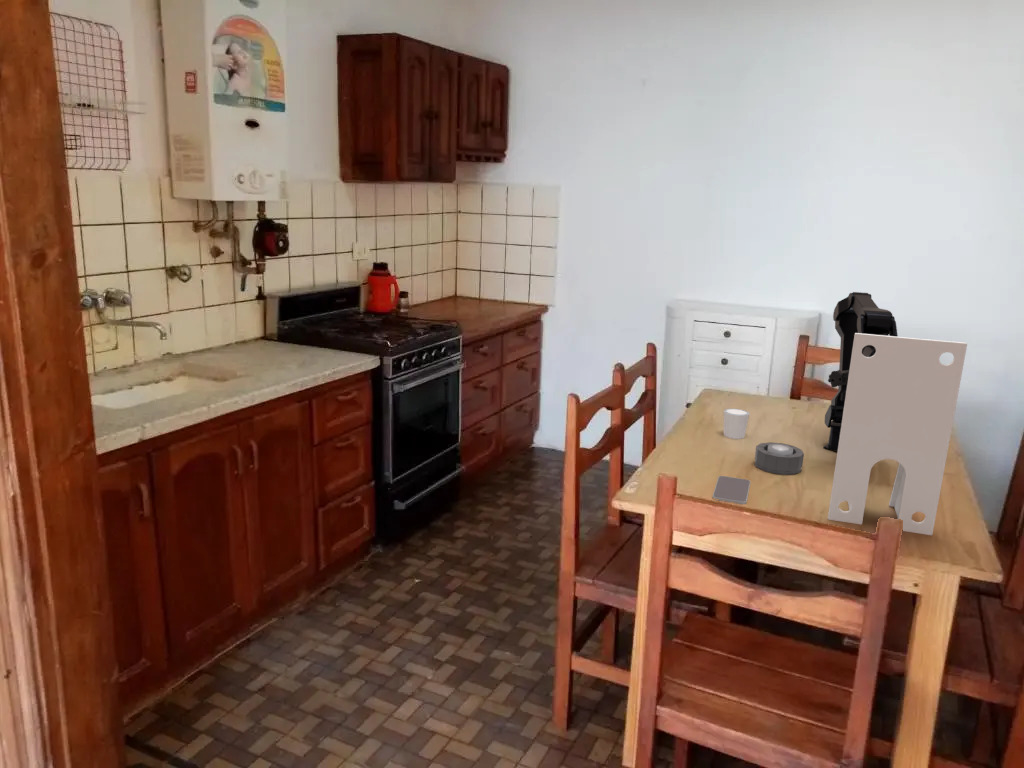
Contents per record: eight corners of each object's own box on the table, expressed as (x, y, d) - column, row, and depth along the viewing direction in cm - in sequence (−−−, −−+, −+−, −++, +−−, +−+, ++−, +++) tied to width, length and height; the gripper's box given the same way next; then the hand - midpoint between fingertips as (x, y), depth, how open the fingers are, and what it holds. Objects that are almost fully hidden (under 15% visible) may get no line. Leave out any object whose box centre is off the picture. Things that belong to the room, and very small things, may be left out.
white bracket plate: (921, 509, 178) (953, 331, 168) (932, 535, 165) (967, 343, 155) (825, 495, 184) (850, 322, 174) (828, 519, 171) (855, 333, 161)
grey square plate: (750, 480, 190) (746, 502, 176) (750, 483, 190) (746, 506, 177) (718, 475, 193) (712, 496, 179) (718, 478, 193) (711, 500, 179)
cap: (771, 457, 205) (773, 442, 204) (794, 463, 201) (796, 447, 200) (762, 463, 200) (764, 447, 199) (786, 469, 197) (788, 453, 196)
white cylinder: (751, 438, 223) (754, 414, 221) (731, 440, 220) (733, 416, 218) (736, 431, 229) (739, 407, 227) (716, 433, 226) (718, 409, 224)
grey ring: (764, 456, 208) (766, 439, 207) (807, 466, 202) (809, 449, 201) (747, 466, 200) (749, 449, 199) (791, 478, 194) (793, 460, 192)
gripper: (846, 351, 205) (838, 410, 209) (822, 362, 191) (814, 425, 195) (893, 358, 199) (883, 419, 203) (872, 370, 185) (862, 435, 188)
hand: (860, 424), depth 197 cm, fingers closed
